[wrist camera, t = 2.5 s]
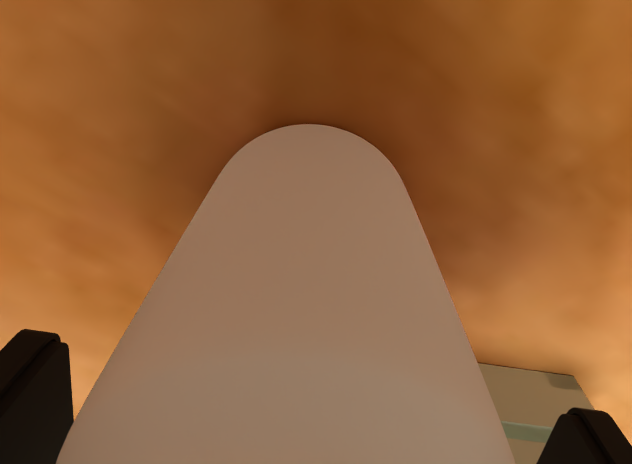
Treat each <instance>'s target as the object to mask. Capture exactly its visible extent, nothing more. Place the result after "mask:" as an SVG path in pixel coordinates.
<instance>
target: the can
mask: <svg viewBox="0 0 632 464" xmlns="http://www.w3.org/2000/svg"><path fill="white" fill-rule="evenodd" d="M56 464H515V460H514V457H513V454H512V452H511V449H510V446H509V443H508V441H507V438H506V435H505V432H504V430H503V427H502V424H501V421H500V419H499V416H498V414H497V411H496V408H495V406H494V403H493V401H492V398H491V396H490V393H489V391H488V388H487V386H486V383H485V381H484V378H483V375H482V373H481V370H480V368H479V365H478V363H477V360H476V358H475V355H474V353H473V351H472V348H471V346H470V343H469V341H468V338H467V336H466V333H465V331H464V328H463V326H462V323H461V321H460V318H459V316H458V313H457V311H456V308H455V306H454V303H453V301H452V299H451V296H450V294H449V291H448V289H447V286H446V284H445V281H444V279H443V276H442V274H441V272H440V269H439V267H438V264H437V262H436V259H435V257H434V254H433V252H432V250H431V247H430V245H429V242H428V240H427V237H426V235H425V233H424V230H423V228H422V225H421V223H420V221H419V218H418V216H417V213H416V211H415V209H414V206H413V204H412V201H411V199H410V197H409V195H408V192H407V190H406V188H405V186H404V184H403V181H402V180H401V178H400V176H399V174H398V172H397V171H396V169H395V168H394V166H393V165H392V164H391V162H390V161H389V160H388V159H387V158H386V157H385V156H384V155H383V154H382V153H381V152H380V151H379V150H378V149H377V148H376V147H374V146H373V145H372V144H370V143H369V142H367V141H366V140H364V139H363V138H361V137H359V136H357V135H355V134H353V133H351V132H348V131H345V130H342V129H339V128H336V127H331V126H326V125H317V124H300V125H292V126H286V127H282V128H278V129H275V130H272V131H270V132H267V133H265V134H263V135H261V136H259V137H257V138H255V139H254V140H252V141H250V142H249V143H248V144H246V145H245V146H244V147H242V148H241V149H240V150H239V151H238V152H237V153H236V154H235V155H234V156H233V157H232V158H231V159H230V160H229V162H228V163H227V164H226V166H225V167H224V168H223V170H222V171H221V173H220V174H219V176H218V177H217V179H216V181H215V182H214V184H213V185H212V187H211V189H210V190H209V192H208V194H207V195H206V197H205V199H204V200H203V202H202V203H201V205H200V207H199V208H198V210H197V212H196V213H195V215H194V217H193V218H192V220H191V222H190V223H189V225H188V227H187V228H186V230H185V232H184V233H183V235H182V237H181V238H180V240H179V242H178V243H177V245H176V247H175V248H174V250H173V252H172V254H171V255H170V257H169V259H168V260H167V262H166V264H165V265H164V267H163V269H162V270H161V272H160V274H159V275H158V277H157V279H156V280H155V282H154V284H153V285H152V287H151V289H150V291H149V292H148V294H147V296H146V297H145V299H144V301H143V302H142V304H141V306H140V308H139V309H138V311H137V313H136V314H135V316H134V318H133V319H132V321H131V323H130V325H129V326H128V328H127V330H126V331H125V333H124V335H123V336H122V338H121V340H120V341H119V343H118V345H117V347H116V348H115V350H114V352H113V354H112V355H111V357H110V359H109V360H108V362H107V364H106V366H105V367H104V369H103V371H102V373H101V374H100V376H99V378H98V379H97V381H96V383H95V385H94V386H93V388H92V390H91V392H90V393H89V395H88V397H87V399H86V401H85V402H84V404H83V406H82V408H81V410H80V412H79V413H78V415H77V417H76V419H75V421H74V423H73V424H72V426H71V428H70V430H69V432H68V435H67V437H66V439H65V442H64V444H63V446H62V448H61V451H60V453H59V456H58V458H57V461H56Z"/></svg>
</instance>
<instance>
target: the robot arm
mask: <svg viewBox="0 0 632 464" xmlns="http://www.w3.org/2000/svg"><path fill="white" fill-rule="evenodd" d="M73 423H74V419H73V404H72V389H71V375H70V360H69V348H68V345H67V344H66V343H62V342H61V340H60V337H59V335H58V334H56V333H50V332H43V331H36V330H29V329H24V330H21V331H20V332H19V333H17V334H16V335H15V336H14V337H13V338H12V339H11V340H10V341H9V342H8V343H7V345H6V346H5V347H4V348H3V349H2V350H1V351H0V464H56V461H57V458H58V456H59V453H60V451H61V448H62V446H63V444H64V442H65V439H66V437H67V435H68V432H69V430H70V428H71V426H72V424H73ZM536 464H632V446H631V445H630V443H629V442H628V440H627V439H626V437H625V436H624V435H623V433H622V432H621V430H620V429H619V427H618V426H617V424H616V423H615V422H614V420H613V419H612V417H611V416H610V415H609V414H608V413H606V412H604V411H598V410H591V409H584V408H577V407H573V408H571V409H569V410H568V412H567V413H566V414H562V415H560V416H559V418H558V419H557V422H556V424H555V426H554V428H553V430H552V432H551V434H550V436H549V438H548V440H547V442H546V445H545V447H544V449H543V451H542V453H541V455H540V457H539V459H538V461H537V463H536Z"/></svg>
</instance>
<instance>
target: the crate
mask: <svg viewBox="0 0 632 464" xmlns="http://www.w3.org/2000/svg"><path fill="white" fill-rule="evenodd" d="M478 365H479V368H480V370H481V373H482V375H483V378H484V381H485V383H486V386H487V388H488V391H489V393H490V396H491V398H492V401H493V403H494V406H495V408H496V411H497V414H498V416H499V419H500V421H501V424H502V427H503V430H504V432H505V435H506V438H507V441H508V443H509V446H510V449H511V452H512V454H513V457H514V460H515V464H536V463H537V461H538V459H539V457H540V455H541V453H542V451H543V449H544V447H545V445H546V442H547V440H548V438H549V436H550V434H551V432H552V430H553V428H554V426H555V424H556V422H557V419H558V418H559V416H560V415H562V414H566V413H567V412H568V410H569V409H571V408H573V407H577V408H584V409H591V410H595V409H594V408H593V406H592V405H591V403H590V401H589V400H588V398H587V397H586V395H585V394H584V392H583V391H582V389H581V387H580V386H579V384H578V383H577V381H576V380H575V378H574V377H573V376H569V375H561V374H554V373H546V372H539V371H532V370H524V369H517V368H510V367H502V366H495V365H488V364H480V363H478Z"/></svg>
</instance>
